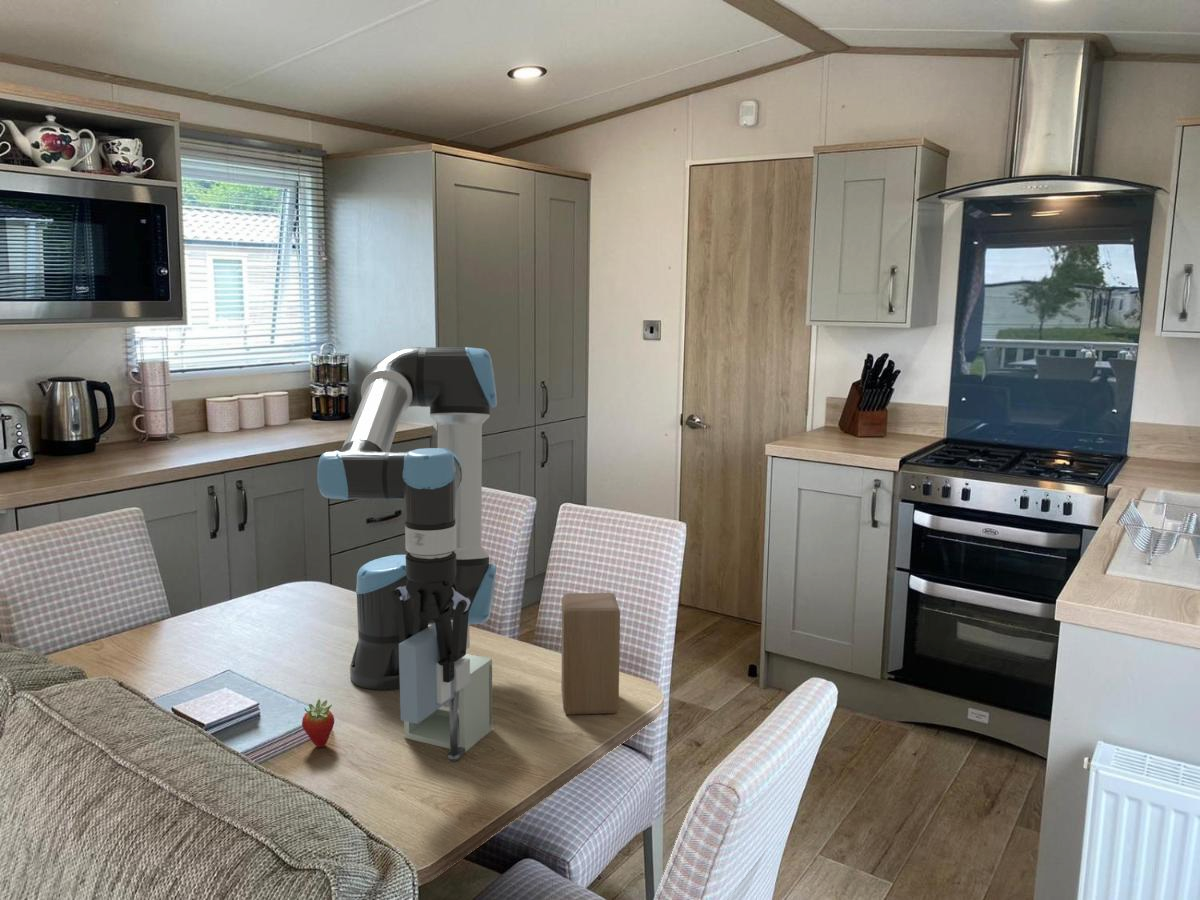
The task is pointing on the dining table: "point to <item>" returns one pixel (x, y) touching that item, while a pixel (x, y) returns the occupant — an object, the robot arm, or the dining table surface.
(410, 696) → the door
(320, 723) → the fruit
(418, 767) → the dining table surface
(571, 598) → the wooden block
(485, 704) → the cabinet
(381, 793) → the dining table surface
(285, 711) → the dining table surface
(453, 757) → the hinge pin
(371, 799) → the dining table surface
